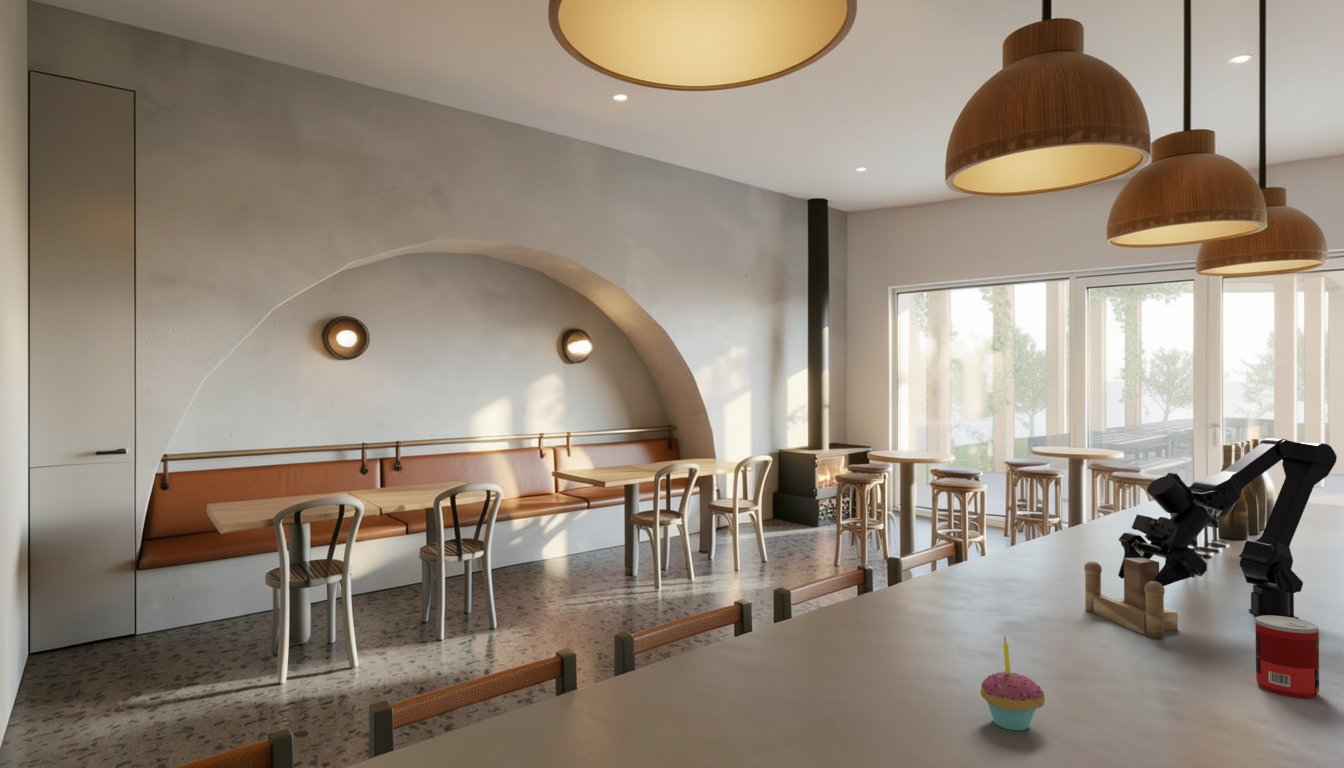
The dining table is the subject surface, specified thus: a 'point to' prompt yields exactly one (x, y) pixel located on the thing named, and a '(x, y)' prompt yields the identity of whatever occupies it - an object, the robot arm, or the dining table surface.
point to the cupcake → (1011, 697)
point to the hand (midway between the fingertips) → (1135, 582)
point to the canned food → (1287, 656)
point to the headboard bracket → (1129, 606)
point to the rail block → (1138, 580)
